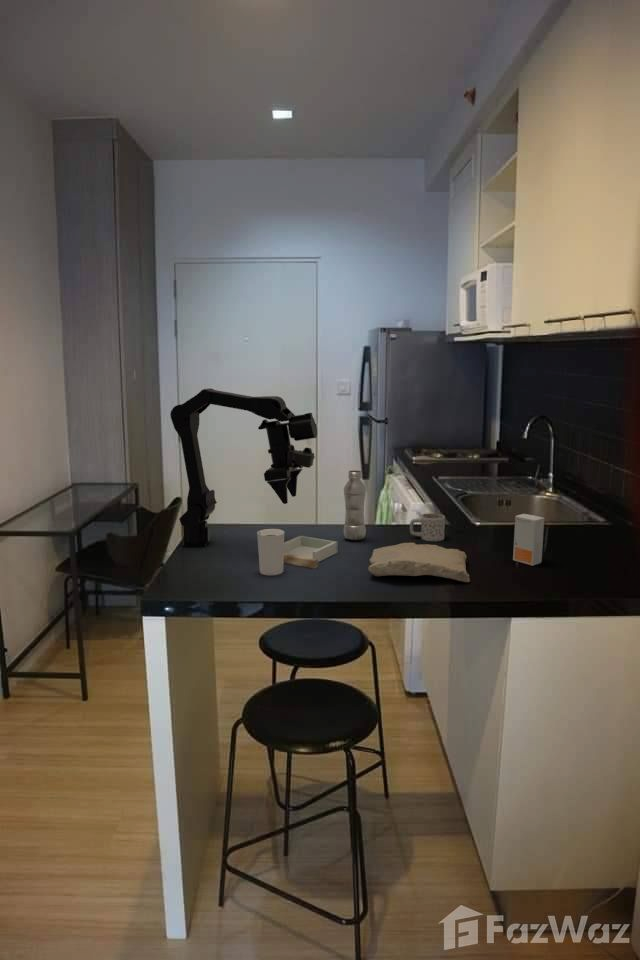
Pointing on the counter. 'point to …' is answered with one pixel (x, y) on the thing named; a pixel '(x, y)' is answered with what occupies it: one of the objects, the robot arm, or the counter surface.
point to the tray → (311, 547)
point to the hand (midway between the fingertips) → (289, 499)
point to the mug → (430, 527)
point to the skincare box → (528, 539)
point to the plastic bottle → (354, 507)
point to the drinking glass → (271, 551)
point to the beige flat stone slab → (419, 561)
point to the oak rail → (300, 561)
